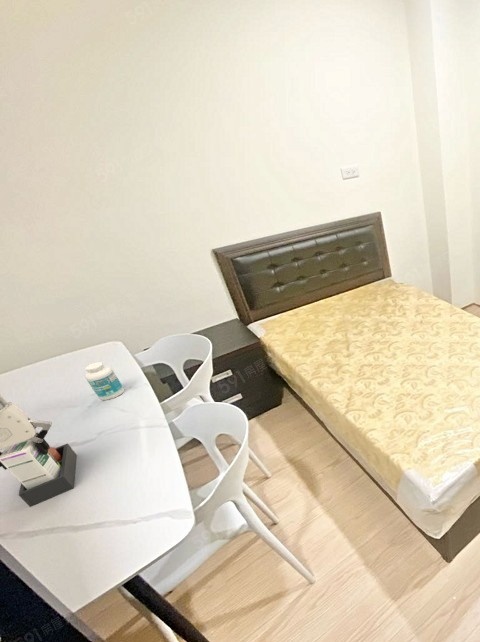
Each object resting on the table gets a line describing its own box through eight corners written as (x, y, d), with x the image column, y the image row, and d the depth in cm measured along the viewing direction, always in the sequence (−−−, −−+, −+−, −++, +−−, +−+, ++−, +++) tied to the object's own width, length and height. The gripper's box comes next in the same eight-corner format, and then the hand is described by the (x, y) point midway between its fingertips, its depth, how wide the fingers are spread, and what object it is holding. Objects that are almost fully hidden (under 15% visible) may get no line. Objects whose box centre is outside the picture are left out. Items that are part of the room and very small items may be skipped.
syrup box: (59, 486, 111) (27, 449, 104) (30, 495, 108) (-4, 458, 101) (67, 472, 115) (37, 435, 108) (39, 480, 113) (7, 443, 106)
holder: (31, 508, 108) (18, 495, 105) (38, 472, 119) (26, 458, 116) (75, 490, 113) (63, 476, 110) (78, 456, 124) (67, 443, 121)
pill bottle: (95, 402, 147) (74, 373, 140) (107, 390, 153) (88, 361, 147) (118, 398, 148) (99, 369, 142) (129, 387, 155) (111, 358, 148)
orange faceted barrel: (42, 482, 114) (26, 465, 111) (44, 470, 118) (29, 454, 115) (68, 471, 118) (54, 454, 114) (69, 460, 121) (56, 444, 118)
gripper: (-77, 433, 91) (-24, 485, 99) (30, 399, 100) (70, 449, 109) (-68, 417, 96) (-17, 468, 104) (33, 386, 105) (72, 435, 114)
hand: (27, 458), depth 107 cm, fingers closed on syrup box, 6 cm apart
